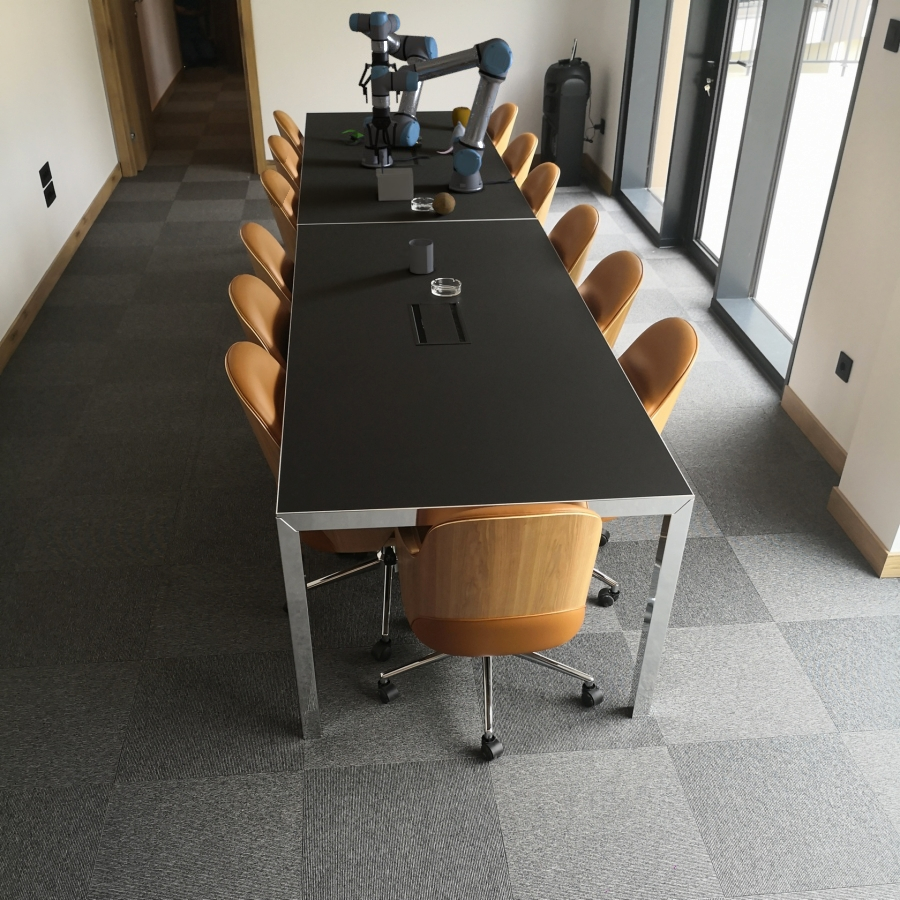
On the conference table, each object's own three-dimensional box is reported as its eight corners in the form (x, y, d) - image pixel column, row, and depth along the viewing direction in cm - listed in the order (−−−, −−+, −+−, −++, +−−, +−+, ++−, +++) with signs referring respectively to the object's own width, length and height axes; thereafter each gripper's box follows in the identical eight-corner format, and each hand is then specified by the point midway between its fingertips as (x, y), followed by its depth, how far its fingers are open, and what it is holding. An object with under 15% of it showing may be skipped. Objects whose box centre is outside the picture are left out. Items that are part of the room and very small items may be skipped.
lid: (376, 176, 373) (375, 155, 368) (376, 170, 381) (375, 149, 376) (413, 176, 374) (412, 154, 369) (411, 170, 382) (411, 149, 377)
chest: (378, 200, 378) (377, 176, 373) (378, 194, 386) (377, 170, 381) (413, 199, 379) (413, 176, 374) (412, 193, 387) (411, 170, 382)
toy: (474, 152, 449) (475, 122, 441) (443, 160, 434) (443, 129, 426) (462, 149, 454) (462, 119, 446) (430, 157, 439) (430, 126, 431)
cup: (409, 265, 311) (408, 238, 306) (432, 265, 312) (431, 238, 307) (410, 274, 304) (409, 246, 299) (433, 273, 305) (433, 246, 299)
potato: (453, 208, 369) (453, 189, 365) (456, 218, 357) (456, 199, 353) (431, 208, 368) (430, 189, 364) (432, 218, 356) (432, 199, 352)
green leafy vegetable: (396, 126, 467) (340, 124, 465) (396, 141, 460) (339, 139, 458) (396, 136, 472) (341, 134, 470) (396, 151, 465) (340, 149, 463)
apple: (471, 132, 486) (471, 108, 479) (451, 132, 486) (451, 108, 479) (470, 128, 495) (471, 104, 488) (452, 128, 495) (452, 104, 488)
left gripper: (351, 52, 375) (354, 104, 386) (408, 52, 376) (409, 104, 388) (351, 50, 381) (354, 101, 393) (408, 49, 383) (409, 100, 394)
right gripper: (361, 108, 358) (364, 166, 371) (401, 108, 359) (402, 165, 372) (361, 104, 365) (364, 161, 377) (400, 104, 365) (402, 161, 378)
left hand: (382, 102), depth 390 cm, fingers open, 13 cm apart
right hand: (383, 163), depth 375 cm, fingers open, 3 cm apart
